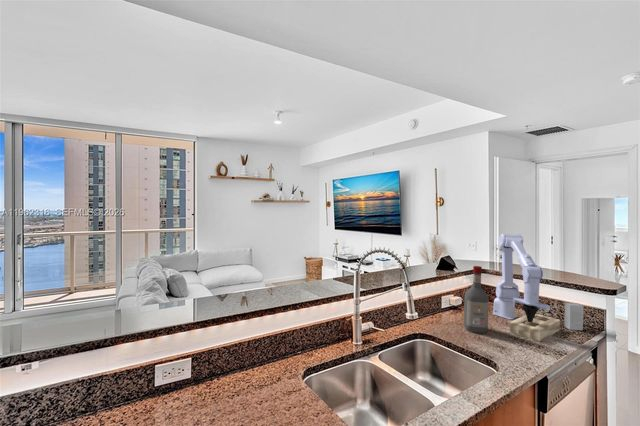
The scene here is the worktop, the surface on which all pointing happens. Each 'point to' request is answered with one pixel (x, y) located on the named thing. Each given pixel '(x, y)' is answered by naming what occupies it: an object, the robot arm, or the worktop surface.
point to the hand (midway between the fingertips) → (530, 321)
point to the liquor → (476, 305)
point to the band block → (535, 327)
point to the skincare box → (573, 316)
